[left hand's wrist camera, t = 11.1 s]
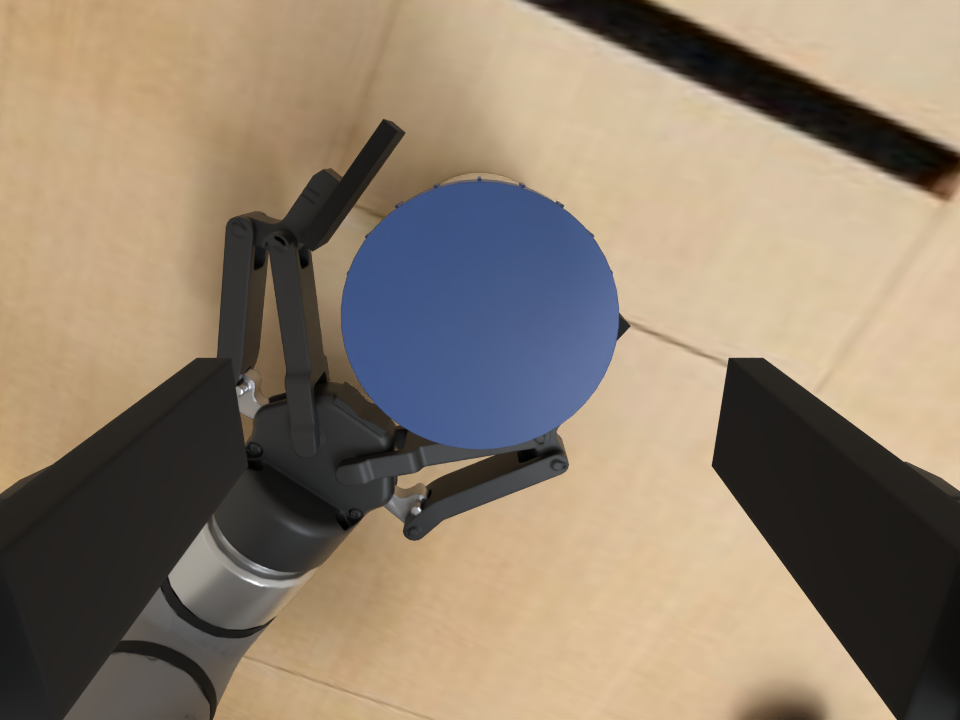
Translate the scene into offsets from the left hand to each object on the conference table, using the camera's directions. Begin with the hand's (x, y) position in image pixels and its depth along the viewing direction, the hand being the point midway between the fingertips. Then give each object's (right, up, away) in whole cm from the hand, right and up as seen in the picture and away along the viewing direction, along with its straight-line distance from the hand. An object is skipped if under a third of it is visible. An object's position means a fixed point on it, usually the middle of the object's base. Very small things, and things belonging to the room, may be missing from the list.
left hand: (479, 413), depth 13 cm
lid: (0, +2, +7) cm, 7 cm away
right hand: (+2, +8, +14) cm, 16 cm away
